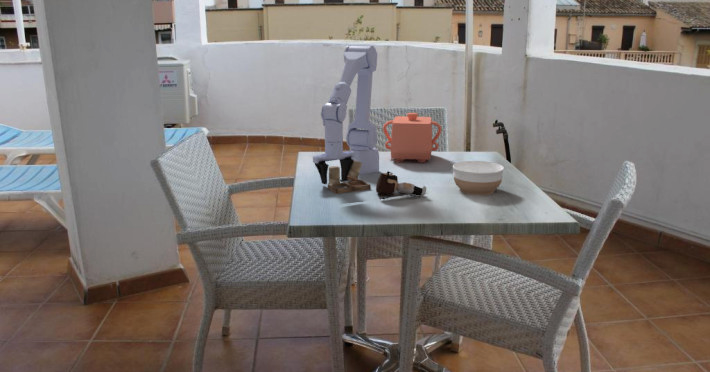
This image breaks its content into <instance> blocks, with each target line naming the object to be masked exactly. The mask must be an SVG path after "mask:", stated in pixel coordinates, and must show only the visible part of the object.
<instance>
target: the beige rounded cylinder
mask: <svg viewBox="0 0 710 372" xmlns="http://www.w3.org/2000/svg"><path fill="white" fill-rule="evenodd" d="M340 179H341V166H337V165H333V166H332V165H331V166H328V182H327V185H328V184H336V183H341V181H340Z"/></svg>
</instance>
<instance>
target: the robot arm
mask: <svg viewBox="0 0 710 372" xmlns="http://www.w3.org/2000/svg"><path fill="white" fill-rule="evenodd" d="M343 61H344V66H343V70H342V74H341V77H340V80H339V82H338V83H336V84H335V85H334V86H333V89H332V91H331V94H330V97H329V99H328V101H327V102H326V103H325V104H323V105H322V107H321V112H320V116H321V119H322V125H323V126H324V153H323V154H319V155H314V156H312V163H313V164H314V166H315V168H316V169H317V172H318V174H319V177H320V180H321V184H323V185H328V172H329V167H330V164H328V163H327V162H331V161H338V160H339V164H340V179H342V180H343V181H347V176H348V173H349V170H350V168H351V166H352V164H353V162H354V160H355V161H359V162H362V165H361V169H360V172H359V175H361V174H362V175H363V174H368V173H375V172H380V152H379V150H378V148H377V147H376V146H377V143H378V134H377V127H376V125H374V123H373V122H372V121H371V120H370V116H371V115H370V114H371V104H372V103H371V101H372V87H373V86H372V85H373V72H374V73H375V71H376V70H377V66H378V52H377V50H376V48H375V46H374V45H351V44H349V45H346V46H345V49H344V52H343ZM356 75H357V81H356V83H357V87H356V99H355V114H354V115H355V116H354V118H355V119H354V120H353V121H352V122H351V123H349V124H348V127H347V132H346V135H345V142H346V144H347V146H348V147H349V149H351V150H349V151H344V146H343V145H344V134H343V133H344V131H343V129H344V127H343V126H344V123H343V122H344V121H345V119H346V117H347V109H348V106H347V104H348V102H349V99H350V97H351V94H352V89H351V85H352V84H353V81H354V79H355V78H356Z"/></svg>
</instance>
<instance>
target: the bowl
mask: <svg viewBox="0 0 710 372" xmlns="http://www.w3.org/2000/svg"><path fill="white" fill-rule="evenodd" d="M452 169H453V175H452V176H453V181H454V184H455V185H456V186H457V187H458V188H459V191H460V192H461V193H463V194H467V195H471V196H487V195H488V196H489V195H493V194H494V192H495V191H496V190H497V189H498V188H499V187H500V185H501V183H502V181H503V172H504V170H505V167H504V166H503V165H501V164H499V163H496V162H490V161H486V160H485V161H483V160H463V161H459V162H455V163H454V164H453V165H452Z"/></svg>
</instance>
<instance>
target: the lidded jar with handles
mask: <svg viewBox="0 0 710 372" xmlns="http://www.w3.org/2000/svg"><path fill="white" fill-rule="evenodd" d="M406 115H407V116H402V115H400V116H398V115H397V116H394V118H393V120H392V119H391V120H387V121H386V122H385V123H384V124H383V127H382V131H383V134H384V135H385V137H386V139H387V141H385V144H384V147H385V149H386V150H390V156H391V157H390V158H391V159H395V162H397V163H399V162H400V163H402V162H405V160H416V161H417V162H418V163H427V160H428V161H429V160H431V157H432V151H433V152H435V151H438V149H439V148H440V147H439V146H440V145H439V143H437V140H438V139H439V137H440V136H441V134H442V132H443V131H442V126H441V124H439V123H438V122H437V121H434V120H432V117H431V116H419V113H417V112H407V113H406ZM389 125H392V126H391V136H390V134H389V133H388V130H387V127H388V126H389ZM433 126H436V127H437V129H438V130H437V133H436V134H435V136H434V137H433V128H432V127H433ZM389 144H390V145H389ZM434 146H435V147H434Z"/></svg>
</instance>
